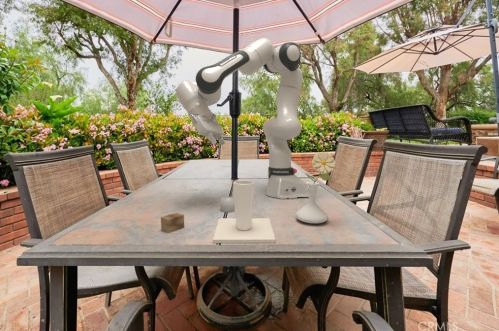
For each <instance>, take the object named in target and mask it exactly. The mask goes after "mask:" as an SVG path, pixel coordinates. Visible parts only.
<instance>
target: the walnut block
mask: <svg viewBox="0 0 499 331" xmlns="http://www.w3.org/2000/svg"><path fill="white" fill-rule="evenodd" d="M160 225H161V226H160V228H161V229H160V230H161V231H163V232H165V233H167V234H170V233H173V232H176V231H179V230H181V229H185V215H184V214H182V213H179V212H174V213H173V212H172V213H171V214H167V215H164V216H160Z"/></svg>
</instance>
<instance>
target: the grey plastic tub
mask: <svg viewBox="0 0 499 331" xmlns="http://www.w3.org/2000/svg"><path fill="white" fill-rule="evenodd" d="M220 212H222V213H235V208H234V198H233V196H222V197H220Z"/></svg>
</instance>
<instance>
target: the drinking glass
mask: <svg viewBox="0 0 499 331" xmlns="http://www.w3.org/2000/svg"><path fill="white" fill-rule="evenodd" d="M232 183H233V185H232V187H233V189H232V192H233V193H232V195H233V196H232V197H233V198H234V208H235V211H234V216H235V217H234V218H235V220H236V228H237V229H239V230H249V229H251V228H252V219H253V218H254V217H253V216H254V214H253V213H254V206H255V197H256V196H255V194H256V193H255V190H256V189H255V188H256V186H255V181H253V180H250V179H249V180H247V179H246V180H245V179H244V180H243V179H241V180H235V181H233V182H232Z"/></svg>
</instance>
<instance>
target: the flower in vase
mask: <svg viewBox="0 0 499 331" xmlns="http://www.w3.org/2000/svg"><path fill="white" fill-rule="evenodd" d="M336 163H337V162H336V160H335V158H334V157H333V155H331V153H328V152H324V151H321V152H318V153H315V154H314V155H313V158H312V161H311V166H312V167H313V169H314V171H316V172H319V175H318V176H317V178H315V177H314V176H313V175H310V174H308V173H307V172H306V173H305V174H306V176H307V177H309V178H310V179H314V181H307V182H305V186H307V189H308V190H307V191H308V192H309V197H308V203H306V204H305V205H303V207H301V208H300V209H298V210H297V211H296V213H295V217H296V219H297V220H299V221H300V222H304V223H307V224H321V223H325V222H326V221H327V220H328V219H329V216H328V214H327V213H326V212H325V211H324V210H323V209H322V208H321V207H320V206H319V205H318V204H317V202H316V198H317V197H316V195H317V190H318V187H320V185H321V183H320V182H317V181H318V179H319V177H320V179H321V180H323V181H330V180H333V178H332V176H330V174H329V173H331V172H333V171H334V170H335V167H336Z"/></svg>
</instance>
